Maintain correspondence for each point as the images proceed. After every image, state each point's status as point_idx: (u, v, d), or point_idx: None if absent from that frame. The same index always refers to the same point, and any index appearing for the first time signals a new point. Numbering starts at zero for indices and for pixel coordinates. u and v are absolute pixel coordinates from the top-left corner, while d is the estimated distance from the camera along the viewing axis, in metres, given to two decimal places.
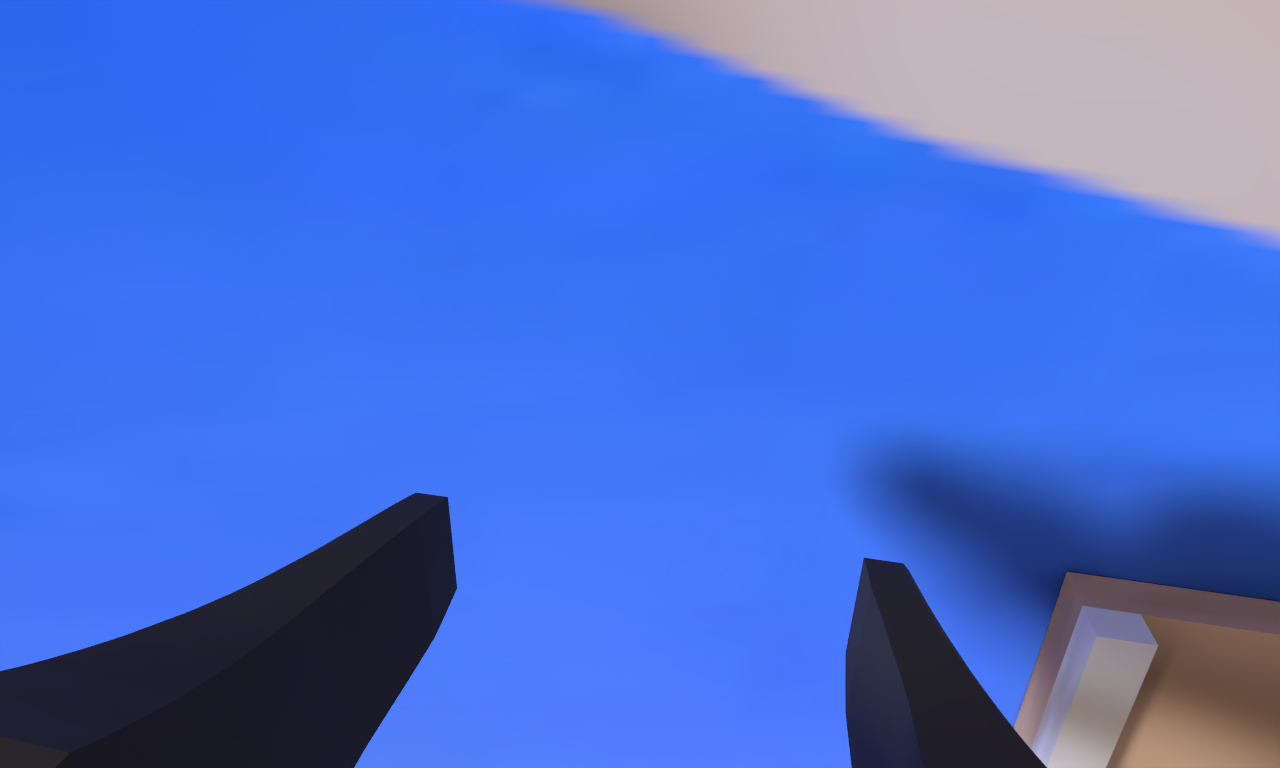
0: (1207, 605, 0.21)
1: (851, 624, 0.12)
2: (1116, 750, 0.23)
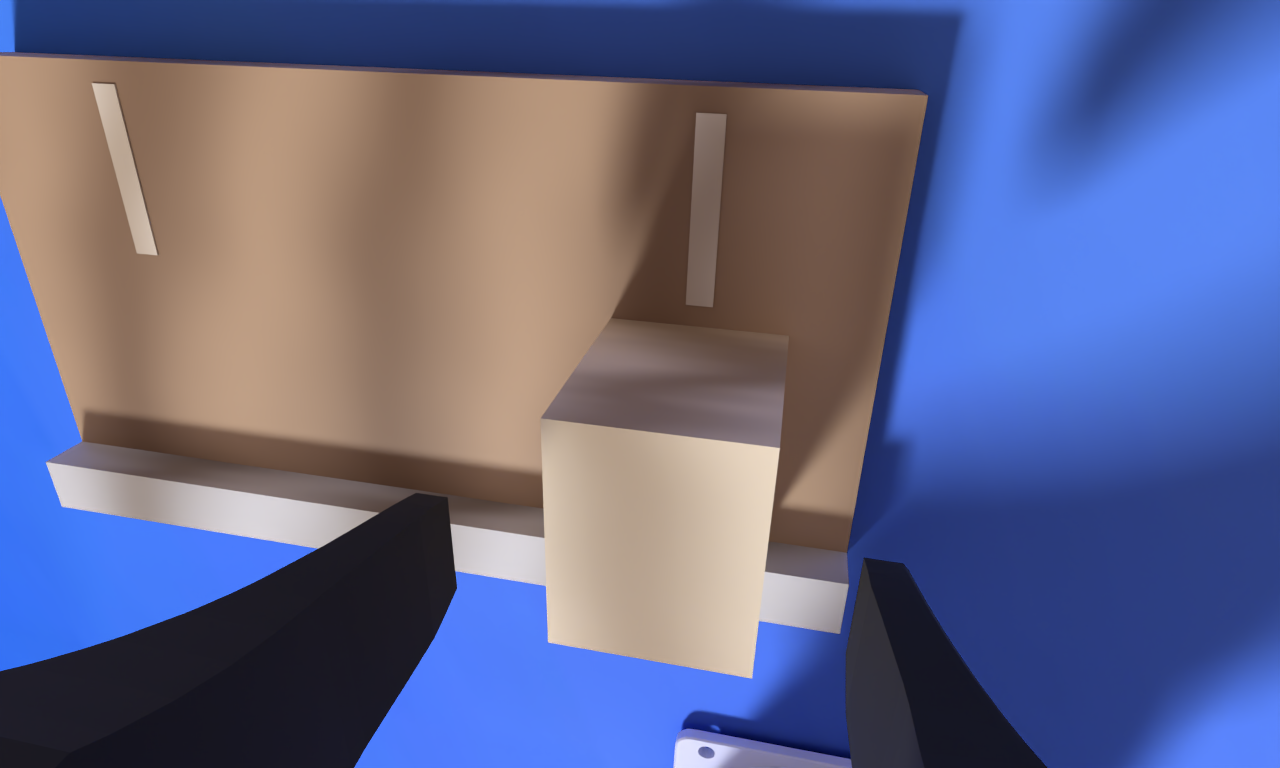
0: None
1: (851, 624, 0.12)
2: (233, 439, 0.21)
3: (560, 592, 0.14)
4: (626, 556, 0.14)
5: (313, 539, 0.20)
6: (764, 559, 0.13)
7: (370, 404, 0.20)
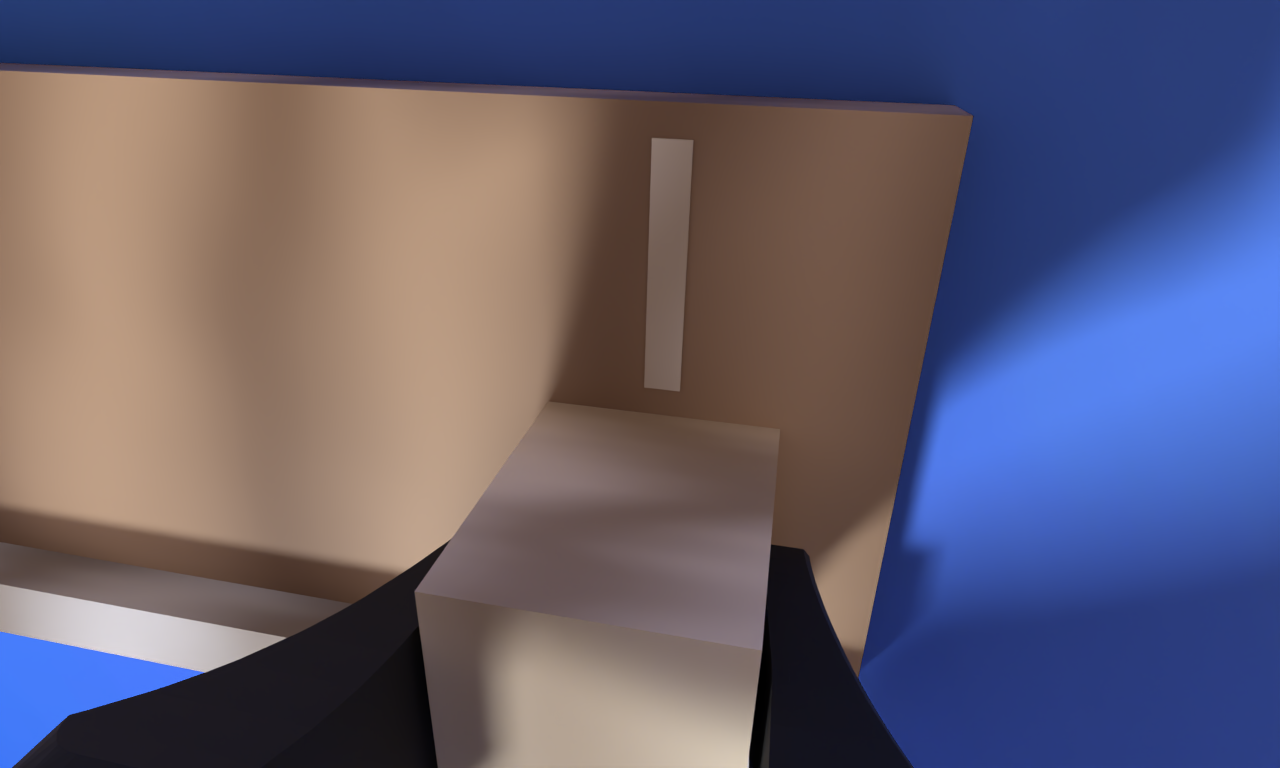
0: None
1: None
2: (96, 532, 0.17)
3: None
4: None
5: (191, 660, 0.16)
6: None
7: (255, 497, 0.16)
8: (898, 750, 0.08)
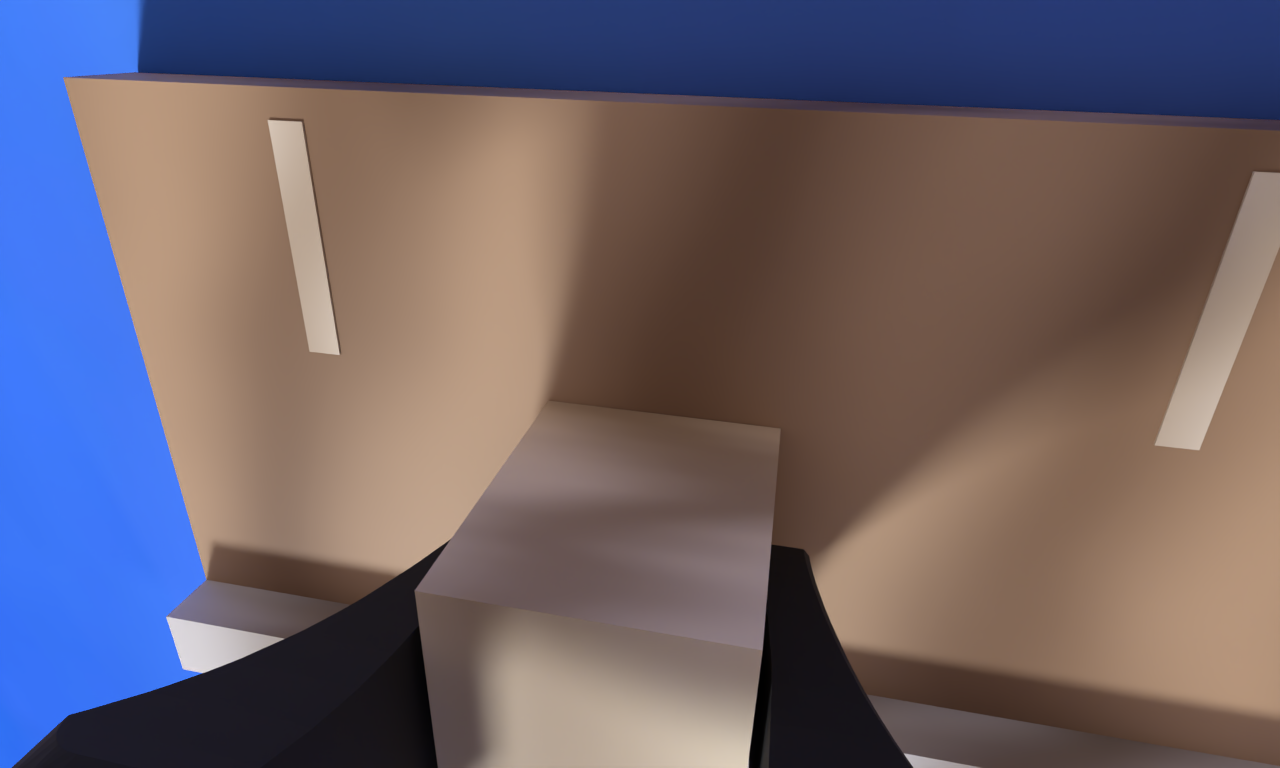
0: None
1: None
2: None
3: None
4: None
5: None
6: None
7: None
8: (898, 750, 0.08)
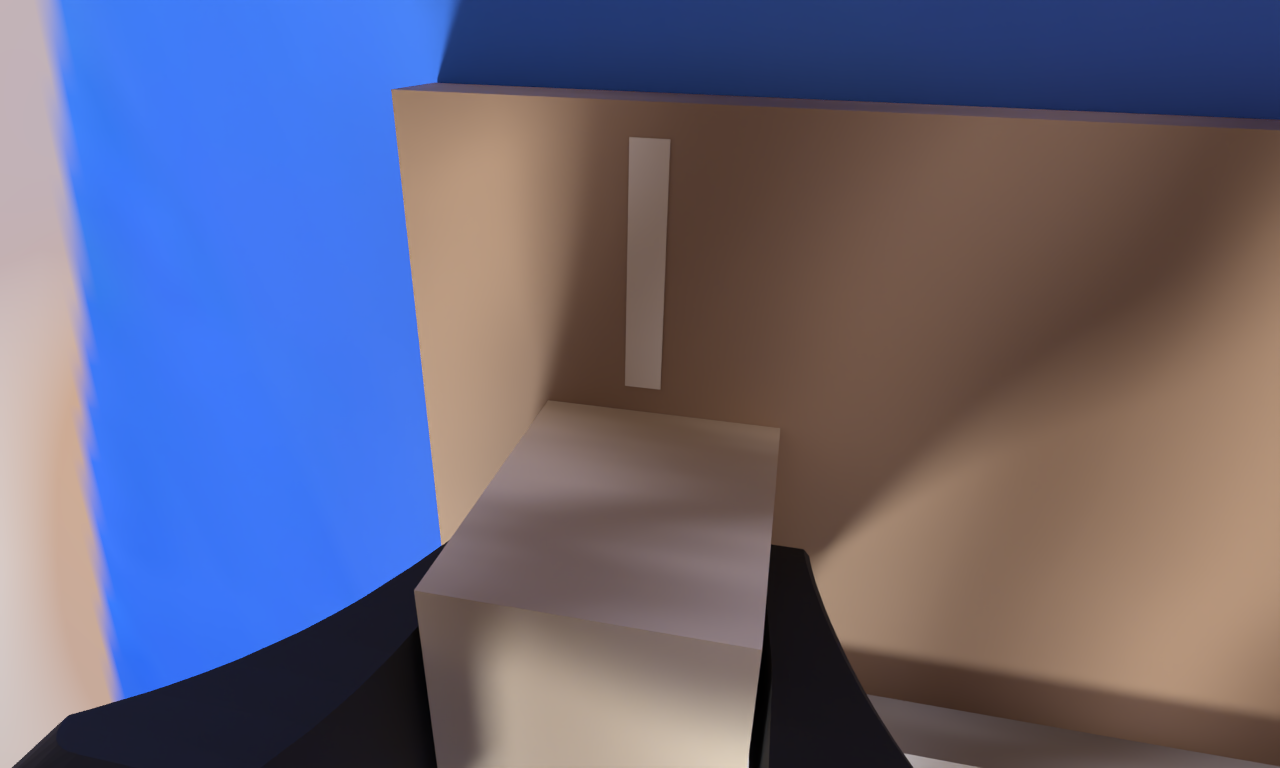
0: None
1: None
2: None
3: None
4: None
5: None
6: None
7: (952, 603, 0.13)
8: (898, 750, 0.08)
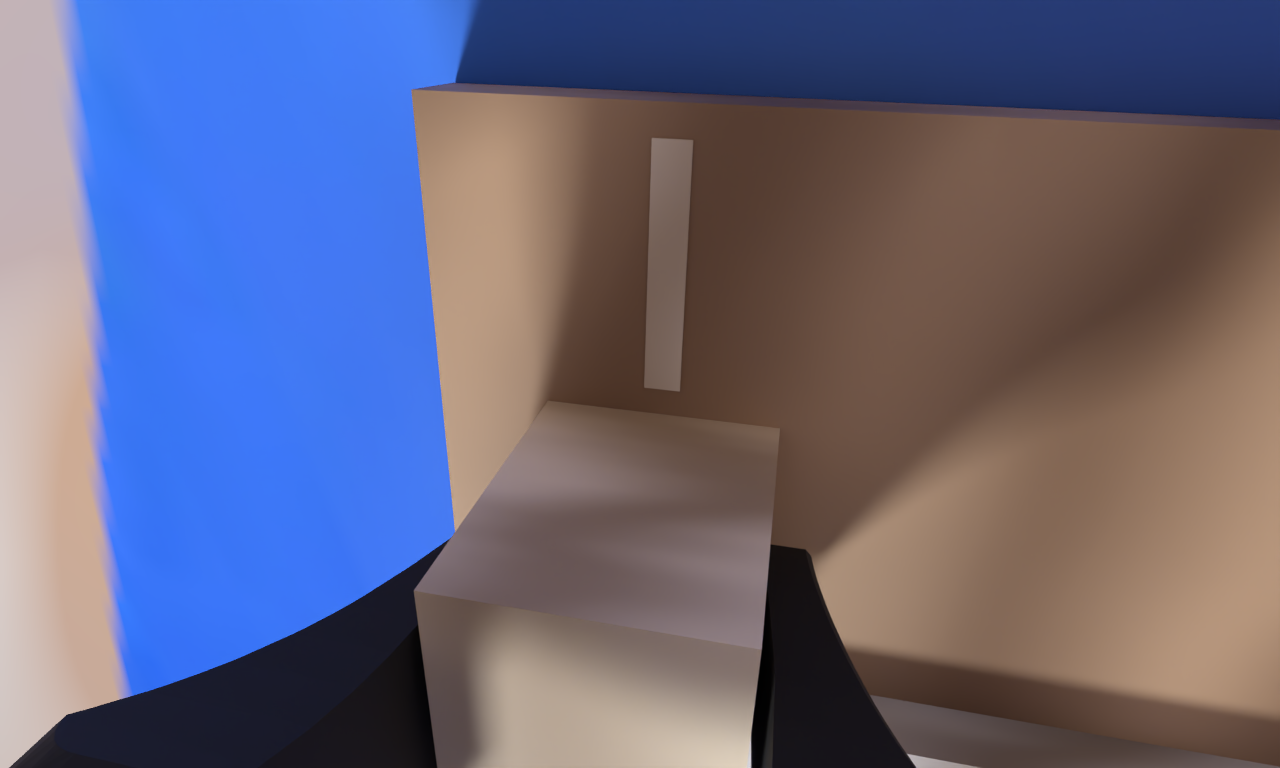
0: None
1: None
2: None
3: None
4: None
5: None
6: None
7: (972, 606, 0.13)
8: (901, 751, 0.08)
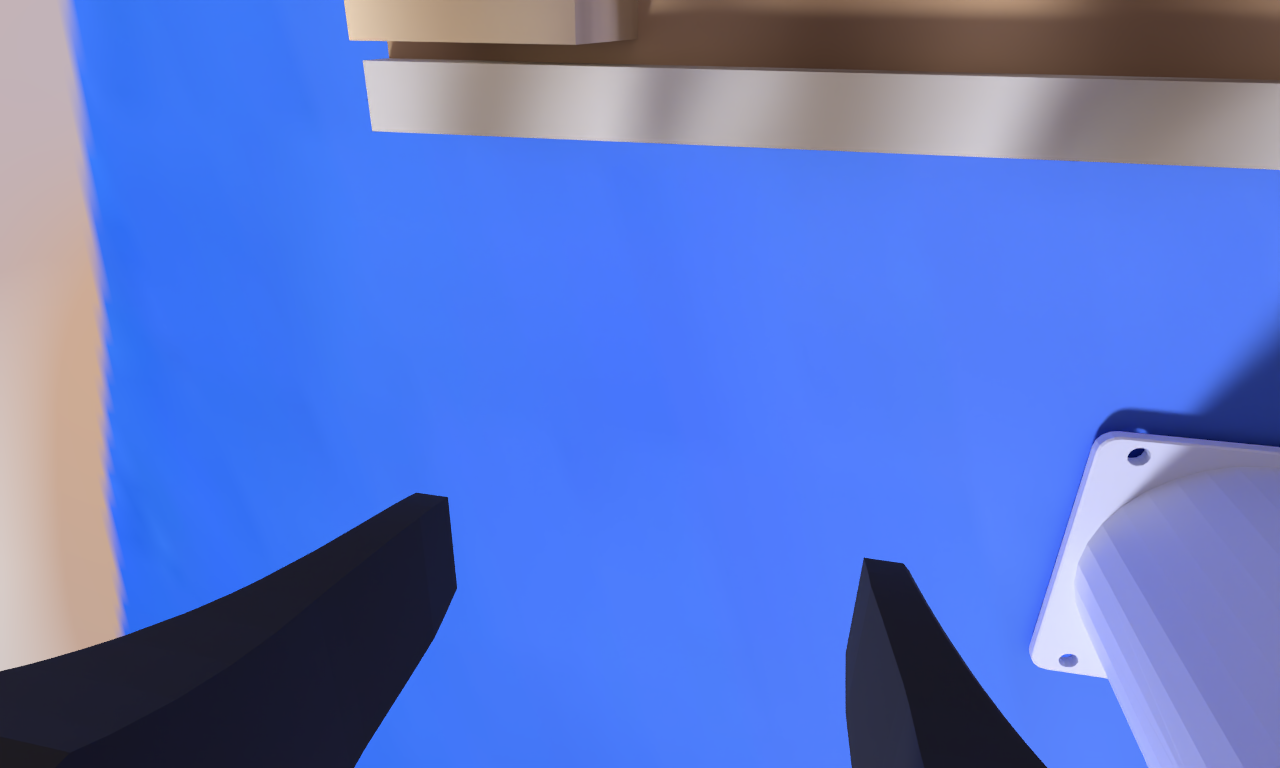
0: None
1: (851, 624, 0.12)
2: None
3: None
4: None
5: (724, 132, 0.16)
6: None
7: None
8: None
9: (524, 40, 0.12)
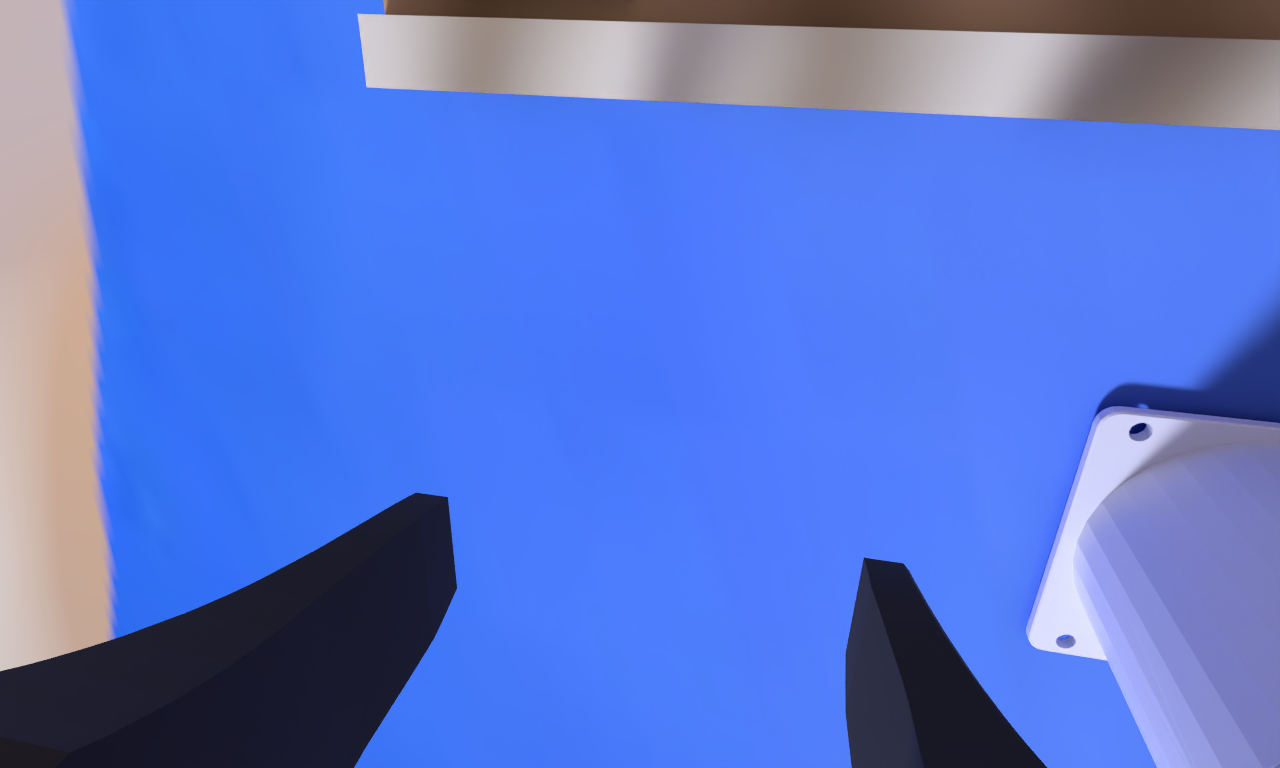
0: None
1: (851, 624, 0.12)
2: None
3: None
4: None
5: (723, 89, 0.16)
6: None
7: None
8: None
9: None
